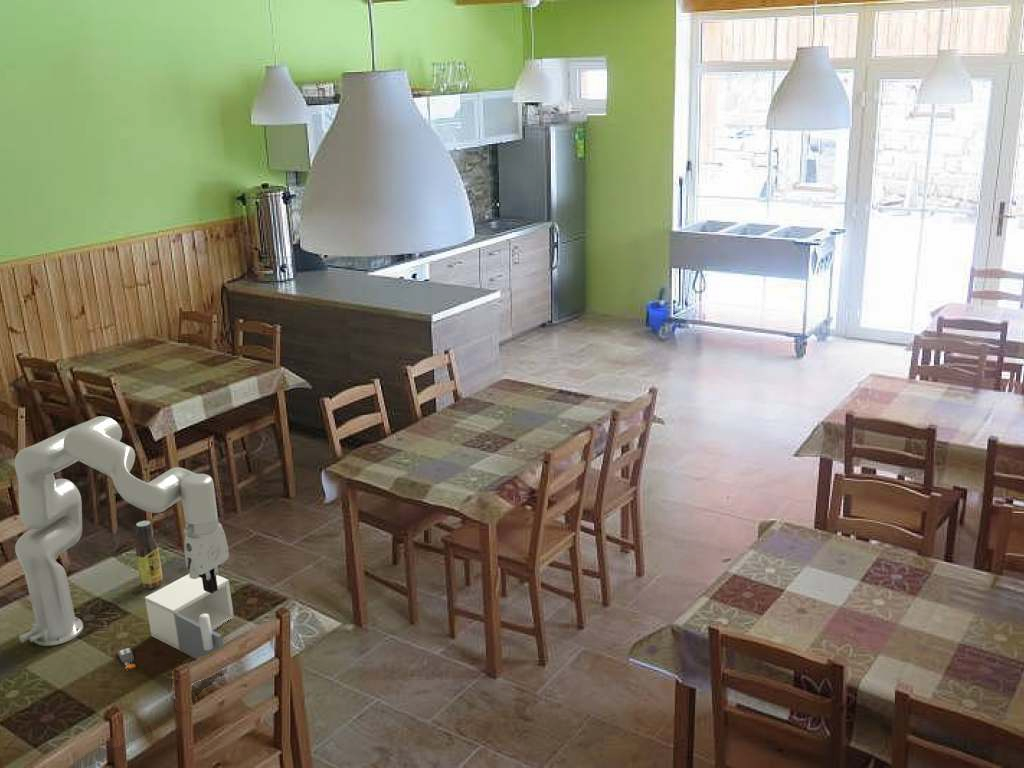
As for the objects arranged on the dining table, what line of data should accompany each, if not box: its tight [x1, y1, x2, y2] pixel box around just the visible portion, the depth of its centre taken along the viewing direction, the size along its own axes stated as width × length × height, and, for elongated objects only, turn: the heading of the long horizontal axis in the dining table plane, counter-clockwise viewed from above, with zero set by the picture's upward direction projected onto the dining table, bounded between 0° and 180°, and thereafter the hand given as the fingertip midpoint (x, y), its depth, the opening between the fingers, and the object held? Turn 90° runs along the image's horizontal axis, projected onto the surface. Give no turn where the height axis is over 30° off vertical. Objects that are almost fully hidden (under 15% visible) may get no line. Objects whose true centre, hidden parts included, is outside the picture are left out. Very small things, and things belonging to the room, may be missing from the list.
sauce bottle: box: [135, 520, 164, 590], centre depth 282 cm, size 7×6×20 cm
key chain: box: [117, 647, 136, 670], centre depth 248 cm, size 13×4×2 cm, turn 33°
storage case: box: [144, 573, 235, 651], centre depth 261 cm, size 18×12×12 cm, turn 145°
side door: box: [174, 612, 228, 675], centre depth 244 cm, size 19×4×16 cm, turn 54°
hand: (210, 590), depth 238 cm, fingers closed
